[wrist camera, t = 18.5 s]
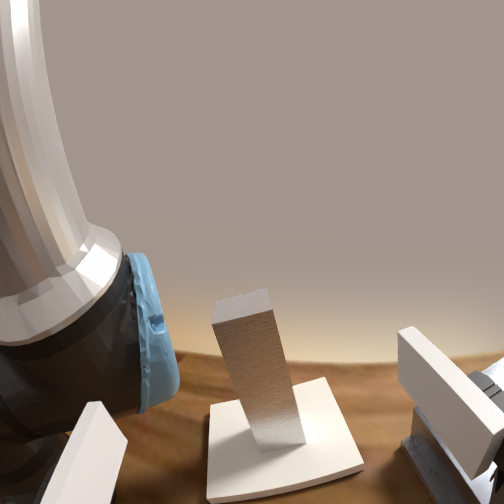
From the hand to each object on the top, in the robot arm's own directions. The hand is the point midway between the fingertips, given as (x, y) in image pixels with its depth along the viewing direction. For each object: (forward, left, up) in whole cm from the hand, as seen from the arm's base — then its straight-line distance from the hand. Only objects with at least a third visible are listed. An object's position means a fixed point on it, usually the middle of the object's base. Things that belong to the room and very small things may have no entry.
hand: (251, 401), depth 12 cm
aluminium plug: (0, +12, -16) cm, 20 cm away
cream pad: (-1, +12, -17) cm, 21 cm away
